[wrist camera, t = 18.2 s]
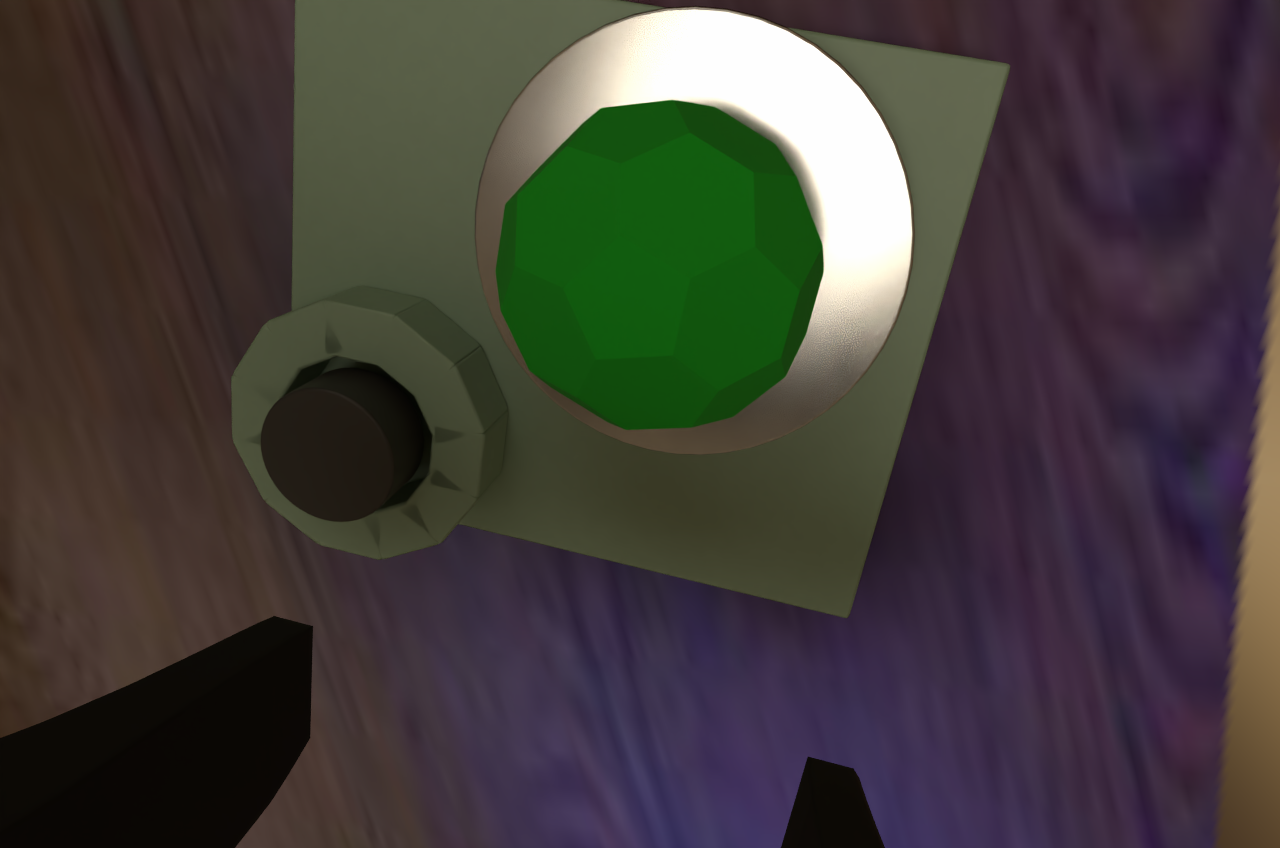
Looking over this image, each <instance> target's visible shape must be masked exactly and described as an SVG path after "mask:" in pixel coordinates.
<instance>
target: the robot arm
mask: <svg viewBox="0 0 1280 848" xmlns="http://www.w3.org/2000/svg"><path fill="white" fill-rule="evenodd" d="M312 639H313V626H310V625H306V624H302V623H299V622H295V621H291V620H287V619H283V618H280V617H276V616H273V617H271V618H269V619H266V620H264V621H262V622H260V623H257V624H255V625H253V626H251V627H249V628H247V629H245V630H242V631H240V632H238V633H236V634H234V635H232V636H230V637H228V638H226V639H224V640H222V641H220V642H218V643H216V644H214V645H212V646H210V647H207V648H205V649H203V650H201V651H199V652H197V653H195V654H193V655H191V656H189V657H187V658H185V659H183V660H181V661H179V662H176V663H174V664H172V665H170V666H168V667H166V668H164V669H162V670H160V671H158V672H155V673H153V674H151V675H149V676H147V677H145V678H143V679H141V680H139V681H137V682H134V683H132V684H130V685H128V686H126V687H123V688H121V689H119V690H116V691H114V692H112V693H109V694H107V695H105V696H102V697H100V698H98V699H95V700H93V701H91V702H89V703H86V704H84V705H82V706H79V707H77V708H75V709H72V710H70V711H68V712H65V713H63V714H61V715H58V716H56V717H54V718H52V719H49V720H47V721H44V722H41V723H39V724H36V725H34V726H31V727H29V728H26V729H24V730H21V731H18V732H16V733H13V734H10V735H8V736H5V737H2V738H0V848H235V847H236V846H237V844H238V843H239V842H240V841H241V839H242V838H243V837H244V836H245V834H246V833H247V832H248V831H249V829H250V828H251V827H252V825H253V824H254V823H255V822H256V820H257V819H258V818H259V817H260V815H261V814H262V813H263V811H264V810H265V809H266V807H267V806H268V805H269V804H270V802H271V801H272V799H273V798H274V796H275V795H276V793H277V791H278V790H279V788H280V787H281V785H282V784H283V782H284V780H285V779H286V777H287V776H288V774H289V773H290V771H291V769H292V768H293V766H294V764H295V762H296V761H297V759H298V757H299V756H300V754H301V752H302V751H303V749H304V747H305V746H306V744H307V742H308V741H309V739H310V721H311V680H312ZM781 848H885V847H884V844H883V842H882V839H881V837H880V834H879V832H878V829H877V827H876V824H875V821H874V819H873V816H872V814H871V811H870V808H869V805H868V802H867V800H866V797H865V794H864V791H863V788H862V785H861V782H860V779H859V777H858V775H857V774H856V772H855V771H854V769H853V768H849V767H845V766H841V765H838V764H834V763H830V762H826V761H822V760H819V759H815V758H811V757H808V758H807V761H806V765H805V768H804V772H803V775H802V778H801V782H800V785H799V789H798V792H797V795H796V799H795V802H794V806H793V809H792V812H791V816H790V819H789V823H788V826H787V829H786V833H785V836H784V840H783V843H782V846H781Z"/></svg>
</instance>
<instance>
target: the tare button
mask: <svg viewBox="0 0 1280 848" xmlns="http://www.w3.org/2000/svg"><path fill="white" fill-rule="evenodd" d="M423 449H424V435H423V429H422V425H421V421H420V419H419V416H418V413H417V412H416V410H415V408H414V406H413V404H412V403H411V401H410V400H409V399H408V397H407V396H406V395H405V394H404V393H403V392H402V391H401V390H400V389H399V388H398V387H397V386H396V385H395V384H393V383H392V382H391V381H389V380H388V379H386V378H384V377H383V376H381V375H379V374H376V373H374V372H372V371H368V370H365V369H359V368H338V369H334V370H331V371H328V372H326V373H324V374H322V375H320V376H318V377H317V378H315V379H313V380H311V381H309V382H307V383H306V384H304V385H302V386H300V387H298V388H297V389H295V390H293V391H291V392H289V393H288V394H286V395H285V396H283V397H281V398H280V399H279V400H278V401H277V402H276V403H275V404H274V405H273V406H272V407H271V409H270V410H269V412H268V414H267V416H266V418H265V420H264V423H263V426H262V431H261V452H262V457H263V461H264V464H265V467H266V470H267V472H268V474H269V476H270V478H271V479H272V481H273V483H274V484H275V486H276V487H277V488H278V490H279V491H280V492H281V493H282V494H283V495H284V496H285V498H287V499H288V500H289V501H290V502H291V503H292V504H293V505H295V506H296V507H298V508H299V509H300V510H302V511H304V512H306V513H307V514H310V515H312V516H314V517H317V518H320V519H323V520H328V521H333V522H348V521H354V520H359V519H362V518H364V517H367V516H368V515H370V514H372V513H374V512H375V511H376V510H377V509H379V508H380V507H381V506H382V505H383V504H384V503H385V502H386V501H387V500H388V499H390V498H391V497H392V496H393V495H394V494H395V493H396V492H397V491H398V490H399V489H400V488H401V487H402V486H404V485H405V484H406V483H407V482H408V481H409V480H410V479H411V478H412V477H413V475H414V474H415V472H416V471H417V469H418V467H419V465H420V463H421V459H422V456H423Z"/></svg>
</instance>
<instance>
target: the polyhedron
mask: <svg viewBox="0 0 1280 848" xmlns="http://www.w3.org/2000/svg"><path fill="white" fill-rule="evenodd" d="M495 272H496V280H497V288H498V295H499V303H500V311H501V313H502V315H503V317H504V319H505V321H506V323H507V325H508V327H509V329H510V331H511V334H512V336H513V338H514V340H515V342H516V344H517V346H518V348H519V350H520V352H521V354H522V356H523V358H524V360H525V363H526V365H527V367H528V369H529V371H530V372H532V373H533V374H534V375H535V376H537V377H538V378H539V379H541V380H542V381H543V382H544V383H546V384H547V385H548V386H550V387H551V388H552V389H554V390H556V391H557V392H559V393H561V394H562V395H564V396H565V397H567V398H569V399H570V400H572V401H574V402H575V403H577V404H578V405H580V406H582V407H583V408H585V409H587V410H588V411H590V412H591V413H593V414H595V415H596V416H598V417H600V418H601V419H603V420H605V421H606V422H608V423H611V424H613V425H615V426H618V427H620V428H622V429H625V430H642V429H670V428H692V427H696V426H700V425H704V424H708V423H712V422H716V421H720V420H724V419H728V418H732V417H734V416H735V415H736V414H738V413H739V412H740V411H742V410H743V409H744V408H746V407H747V406H748V405H750V404H751V403H752V402H753V401H755V400H756V399H757V398H759V397H760V396H761V395H763V394H764V393H765V392H767V391H768V390H769V389H770V388H772V387H773V386H774V385H776V384H777V383H778V382H780V381H781V380H782V379H784V378H785V377H786V375H787V373H788V371H789V369H790V367H791V365H792V363H793V361H794V358H795V356H796V354H797V352H798V350H799V348H800V346H801V344H802V342H803V340H804V338H805V336H806V333H807V329H808V326H809V322H810V319H811V315H812V312H813V308H814V305H815V301H816V298H817V294H818V291H819V287H820V284H821V280H822V277H823V273H824V258H823V245H822V242H821V239H820V237H819V234H818V231H817V229H816V226H815V223H814V221H813V218H812V216H811V213H810V210H809V208H808V205H807V202H806V200H805V197H804V194H803V192H802V189H801V186H800V184H799V181H798V179H797V176H796V175H795V173H794V171H793V170H792V168H791V167H790V165H789V164H788V162H787V161H786V159H785V158H784V156H783V154H782V153H781V151H780V150H779V148H778V147H777V145H776V144H775V143H773V142H771V141H770V140H768V139H767V138H765V137H763V136H762V135H760V134H759V133H757V132H755V131H754V130H752V129H751V128H749V127H747V126H746V125H744V124H742V123H741V122H739V121H738V120H736V119H734V118H733V117H731V116H730V115H728V114H726V113H725V112H723V111H722V110H720V109H718V108H717V107H713V106H708V105H702V104H696V103H690V102H685V101H679V100H664V101H656V102H647V103H639V104H630V105H622V106H613V107H605V108H600V109H599V110H598V111H597V112H595V113H594V114H593V115H592V116H590V117H589V118H588V119H587V120H586V121H584V122H583V123H582V124H581V125H580V126H579V127H578V128H577V129H576V130H575V131H574V132H573V133H572V134H571V135H570V136H569V137H568V138H567V139H566V140H565V141H564V142H563V143H562V144H561V145H560V146H559V147H558V148H557V149H556V150H555V151H554V152H553V153H552V154H551V155H550V156H549V157H548V158H547V159H546V160H545V161H544V163H543V164H542V165H541V166H540V167H539V168H538V169H537V170H536V171H535V172H534V173H533V174H532V175H531V176H530V177H529V178H528V179H527V181H526V182H525V183H524V184H523V185H522V186H521V187H520V188H519V189H518V190H517V192H516V193H515V194H514V195H513V196H512V197H511V198H510V199H509V200H508V201H507V202H506V204H505V208H504V215H503V222H502V229H501V236H500V243H499V250H498V256H497V263H496V270H495Z"/></svg>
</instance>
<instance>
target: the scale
mask: <svg viewBox="0 0 1280 848" xmlns="http://www.w3.org/2000/svg"><path fill="white" fill-rule="evenodd" d="M661 8H665V7H659V6H653V5H647V4H641V3H635V2H629V1H622V0H295V58H294V144H293V230H292V311H291V312H288V313H286V314H283V315H281V316H279V317H276V318H274V319H271V320H269V321H268V322H267V323H266V324H264V325H263V327H262V328H261V330H260V331H259V333H258V334H257V336H256V338H255V339H254V341H253V342H252V344H251V346H250V347H249V349H248V350H247V352H246V354H245V355H244V357H243V358H242V360H241V361H240V363H239V365H238V366H237V368H236V369H235V371H234V374H233V375H232V377H231V394H232V439H233V440H234V441H233V442H234V445H235V447H236V448H237V450H238V452H239V454H240V456H241V458H242V460H243V462H244V464H245V466H246V468H247V469H248V471H249V473H250V475H251V477H252V479H253V481H254V483H255V485H256V487H257V489H258V490H259V492H260V494H261V496H262V498H263V500H266V501H265V502H266V503H267V504H268V505H269V506H271V507H272V508H273V509H274V510H276V511H277V512H278V513H279V514H281V515H282V516H283V517H284V518H286V519H287V520H288V521H289V522H291V523H292V524H293V525H294V526H296V527H297V528H298V529H299V530H301V531H302V532H303V533H304V534H306V535H307V536H308V537H309V538H311V539H312V540H313V541H314V542H316V543H319V545H322V546H326V547H330V548H334V549H338V550H342V551H346V552H350V553H354V554H358V555H362V556H366V557H370V558H374V559H378V560H381V559H386V558H390V557H394V556H397V555H401V554H405V553H408V552H412V551H416V550H420V549H423V548H427V547H431V546H434V545H438V544H439V543H442V542H443V541H444V540H445V539H446V537H447V536H448V535H449V534H450V533H451V532H452V530H453V529H454V528H455V527H456V526H457V525H458V524H461V525H465V526H469V527H473V528H477V529H481V530H486V531H490V532H494V533H498V534H502V535H506V536H510V537H514V538H518V539H523V540H527V541H531V542H535V543H539V544H543V545H547V546H551V547H555V548H560V549H564V550H568V551H572V552H576V553H580V554H584V555H588V556H593V557H597V558H601V559H605V560H609V561H613V562H617V563H621V564H625V565H630V566H634V567H638V568H642V569H646V570H650V571H654V572H658V573H662V574H667V575H671V576H675V577H679V578H683V579H687V580H691V581H695V582H699V583H704V584H708V585H712V586H716V587H720V588H724V589H728V590H732V591H737V592H741V593H745V594H749V595H753V596H757V597H761V598H765V599H769V600H774V601H778V602H782V603H786V604H790V605H794V606H798V607H802V608H806V609H811V610H815V611H819V612H823V613H827V614H831V615H835V616H839V617H843V618H848V616H849V615H850V612H851V608H852V605H853V601H854V598H855V595H856V591H857V588H858V584H859V581H860V578H861V574H862V571H863V567H864V564H865V561H866V557H867V554H868V550H869V547H870V544H871V540H872V537H873V533H874V530H875V527H876V523H877V520H878V516H879V513H880V510H881V506H882V503H883V499H884V496H885V493H886V489H887V486H888V482H889V479H890V476H891V472H892V469H893V465H894V462H895V459H896V455H897V452H898V448H899V445H900V442H901V438H902V435H903V431H904V428H905V425H906V421H907V418H908V414H909V411H910V408H911V404H912V401H913V397H914V394H915V391H916V387H917V384H918V380H919V377H920V374H921V370H922V367H923V363H924V360H925V357H926V353H927V350H928V346H929V343H930V340H931V336H932V333H933V329H934V326H935V323H936V319H937V316H938V312H939V309H940V306H941V302H942V299H943V295H944V292H945V289H946V285H947V282H948V278H949V275H950V272H951V268H952V265H953V261H954V258H955V255H956V251H957V248H958V244H959V241H960V238H961V234H962V231H963V227H964V224H965V221H966V217H967V214H968V210H969V207H970V204H971V200H972V197H973V193H974V190H975V187H976V183H977V180H978V176H979V173H980V170H981V166H982V163H983V159H984V156H985V153H986V149H987V146H988V142H989V139H990V136H991V132H992V129H993V125H994V122H995V119H996V115H997V112H998V108H999V105H1000V102H1001V98H1002V95H1003V91H1004V88H1005V85H1006V81H1007V78H1008V74H1009V71H1010V65H1008V64H1007V63H1002V62H996V61H989V60H983V59H977V58H971V57H965V56H959V55H953V54H947V53H940V52H934V51H928V50H922V49H916V48H910V47H904V46H898V45H892V44H885V43H879V42H873V41H867V40H861V39H855V38H849V37H843V36H836V35H830V34H824V33H818V32H812V31H806V30H800V29H794V28H789V29H791V30H793V31H794V32H796V33H798V34H800V35H801V36H803V37H805V38H806V39H808V40H810V41H812V42H813V43H815V44H817V45H818V46H819V47H820V48H822V49H823V50H824V51H825V52H827V53H828V54H829V55H831V56H832V57H833V58H834V59H836V60H837V61H838V62H839V63H841V64H842V65H843V66H844V67H845V69H846V70H847V71H848V72H849V73H850V74H851V75H852V76H853V77H854V78H855V79H856V80H857V81H858V82H859V83H860V84H861V85H862V86H863V88H864V89H865V90H866V92H867V93H868V95H869V96H870V97H871V99H872V100H873V102H874V103H875V104H876V106H877V107H878V109H879V110H880V112H881V113H882V115H883V117H884V119H885V121H886V122H887V124H888V126H889V128H890V130H891V132H892V134H893V136H894V138H895V140H896V142H897V145H898V148H899V150H900V153H901V156H902V159H903V162H904V165H905V167H906V170H907V174H908V179H909V184H910V189H911V194H912V199H913V207H914V223H915V243H914V257H913V266H912V271H911V276H910V281H909V285H908V290H907V294H906V297H905V300H904V303H903V306H902V309H901V312H900V314H899V317H898V320H897V323H896V324H895V326H894V328H893V330H892V332H891V334H890V336H889V338H888V340H887V342H886V344H885V346H884V348H883V349H882V351H881V352H880V354H879V355H878V357H877V358H876V360H875V361H874V363H873V364H872V366H871V367H870V368H869V370H868V371H867V373H866V374H865V375H864V376H863V377H862V378H861V379H860V380H859V382H858V383H857V384H856V385H855V386H854V387H853V388H852V389H851V390H850V392H849V393H848V394H846V395H845V396H844V397H843V398H842V399H841V400H839V401H838V402H837V403H836V404H835V405H834V406H833V407H831V408H830V409H829V410H828V411H827V412H825V413H824V414H822V415H821V416H819V417H818V418H816V419H814V420H813V421H811V422H810V423H808V424H807V425H805V426H804V427H802V428H800V429H798V430H796V431H794V432H792V433H790V434H788V435H786V436H783V437H781V438H779V439H776V440H774V441H771V442H768V443H765V444H762V445H759V446H756V447H753V448H748V449H743V450H738V451H734V452H729V453H718V454H706V455H691V454H673V453H667V452H660V451H654V450H648V449H645V448H641V447H638V446H635V445H631V444H628V443H624V442H622V441H619V440H617V439H615V438H612V437H610V436H608V435H605V434H603V433H601V432H598V431H597V430H595V429H593V428H591V427H590V426H588V425H586V424H585V423H583V422H581V421H579V420H578V419H576V418H575V417H573V416H572V415H571V414H569V413H568V412H567V411H565V410H564V409H563V408H561V407H560V406H559V405H557V404H556V403H555V402H554V401H553V400H551V399H550V398H549V397H548V396H547V395H546V394H545V393H544V392H543V391H542V390H541V389H540V388H539V387H538V386H537V385H536V384H535V383H534V382H533V381H532V379H531V378H530V377H529V376H528V375H527V373H526V372H525V371H524V370H523V369H522V367H521V366H520V365H519V364H518V362H517V361H516V359H515V358H514V356H513V354H512V353H511V351H510V350H509V348H508V347H507V345H506V344H505V342H504V340H503V338H502V336H501V334H500V332H499V330H498V328H497V326H496V324H495V322H494V320H493V318H492V315H491V312H490V309H489V307H488V304H487V301H486V298H485V295H484V292H483V288H482V284H481V279H480V275H479V270H478V266H477V257H476V247H475V207H476V200H477V193H478V187H479V180H480V177H481V173H482V170H483V166H484V163H485V159H486V156H487V152H488V150H489V148H490V145H491V143H492V141H493V138H494V136H495V134H496V131H497V129H498V127H499V125H500V123H501V121H502V120H503V118H504V116H505V115H506V113H507V111H508V110H509V108H510V106H511V104H512V103H513V101H514V100H515V98H516V97H517V96H518V95H519V93H520V92H521V91H522V90H523V88H524V87H525V86H526V85H527V83H528V82H529V81H530V79H531V78H532V77H533V76H534V75H535V74H536V73H537V72H538V71H539V70H540V69H541V68H542V67H543V66H544V65H546V64H547V63H548V62H549V61H550V60H551V59H552V58H553V57H554V56H555V55H557V54H558V53H559V52H561V51H562V50H563V49H565V48H566V47H568V46H569V45H570V44H572V43H573V42H574V41H576V40H577V39H579V38H581V37H582V36H584V35H586V34H588V33H590V32H592V31H594V30H596V29H598V28H599V27H601V26H603V25H605V24H608V23H611V22H613V21H616V20H619V19H622V18H624V17H627V16H630V15H633V14H636V13H641V12H646V11H651V10H656V9H661ZM787 28H788V27H787ZM338 368H359V369H365V370H368V371H372V372H374V373H376V374H379V375H381V376H383V377H384V378H386V379H388V380H389V381H391V382H392V383H393V384H395V385H396V386H397V387H398V388H399V389H400V390H401V391H402V392H403V393H404V394H405V395H406V396H407V397H408V399H409V400H410V401H411V403H412V404H413V406H414V408H415V410H416V412H417V413H418V416H419V419H420V421H421V425H422V429H423V435H424V449H423V456H422V459H421V463H420V465H419V467H418V469H417V471H416V472H415V474H414V475H413V477H412V478H411V479H410V480H409V481H408V482H407V483H406V484H405V485H404V486H402V487H401V488H400V489H399V490H398V491H397V492H396V493H395V494H394V495H393V496H392V497H391V498H390V499H388V500H387V501H386V502H385V503H384V504H383V505H382V506H381V507H380V508H379V509H377V510H376V511H375V512H374V513H372V514H370V515H368V516H367V517H364V518H362V519H359V520H354V521H348V522H333V521H328V520H323V519H320V518H317V517H314V516H312V515H310V514H307V513H306V512H304V511H302V510H300V509H299V508H298V507H296V506H295V505H293V504H292V503H291V502H290V501H289V500H288V499H287V498H285V496H284V495H283V494H282V493H281V492H280V491H279V490H278V488H277V487H276V486H275V484H274V483H273V481H272V479H271V478H270V476H269V474H268V472H267V470H266V467H265V464H264V461H263V457H262V452H261V431H262V426H263V423H264V420H265V418H266V416H267V414H268V412H269V410H270V409H271V407H272V406H273V405H274V404H275V403H276V402H277V401H278V400H279V399H280V398H281V397H283V396H285V395H286V394H288V393H289V392H291V391H293V390H295V389H297V388H298V387H300V386H302V385H304V384H306V383H307V382H309V381H311V380H313V379H315V378H317V377H318V376H320V375H322V374H324V373H326V372H328V371H331V370H334V369H338Z"/></svg>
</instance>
